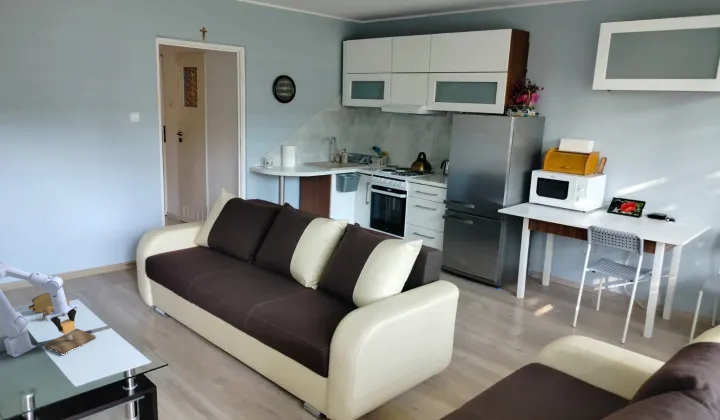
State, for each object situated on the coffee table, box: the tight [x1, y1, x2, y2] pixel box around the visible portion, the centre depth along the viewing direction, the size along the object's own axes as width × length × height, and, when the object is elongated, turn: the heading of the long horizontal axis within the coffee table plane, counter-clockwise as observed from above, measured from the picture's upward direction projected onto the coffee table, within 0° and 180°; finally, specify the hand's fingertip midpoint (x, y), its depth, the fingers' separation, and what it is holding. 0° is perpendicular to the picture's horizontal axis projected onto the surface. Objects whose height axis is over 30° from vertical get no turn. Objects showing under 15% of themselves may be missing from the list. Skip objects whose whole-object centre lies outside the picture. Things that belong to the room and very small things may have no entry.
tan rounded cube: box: [58, 318, 76, 335], centre depth 244 cm, size 5×5×4 cm
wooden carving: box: [27, 292, 53, 313], centre depth 281 cm, size 16×5×10 cm, turn 141°
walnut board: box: [44, 328, 97, 354], centre depth 246 cm, size 16×16×4 cm
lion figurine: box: [40, 297, 70, 322], centre depth 272 cm, size 15×5×9 cm, turn 132°
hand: (66, 327), depth 244 cm, fingers closed on tan rounded cube, 5 cm apart
